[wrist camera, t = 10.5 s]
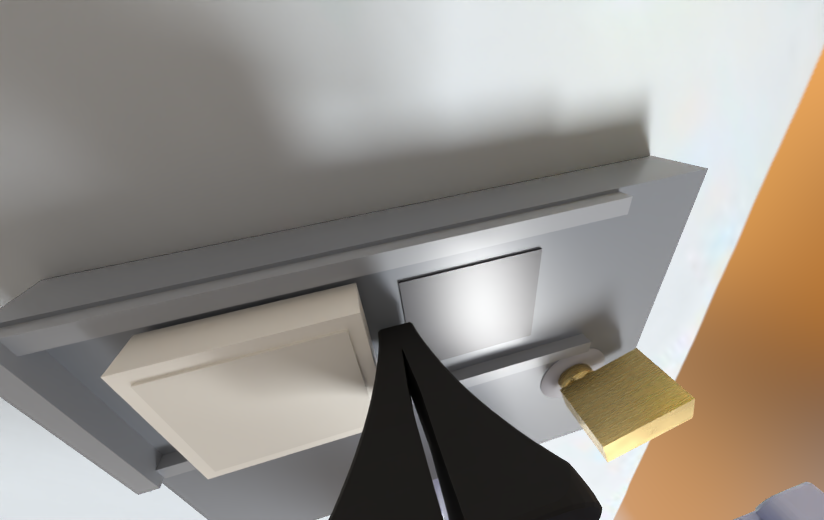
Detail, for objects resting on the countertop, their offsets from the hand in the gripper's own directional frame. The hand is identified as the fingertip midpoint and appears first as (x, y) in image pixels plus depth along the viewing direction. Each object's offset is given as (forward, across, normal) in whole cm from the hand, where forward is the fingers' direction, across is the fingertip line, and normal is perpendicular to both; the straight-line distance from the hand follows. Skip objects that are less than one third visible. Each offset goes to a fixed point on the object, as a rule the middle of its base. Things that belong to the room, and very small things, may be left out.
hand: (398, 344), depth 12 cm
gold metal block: (+1, -10, +6) cm, 12 cm away
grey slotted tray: (+3, -1, +5) cm, 6 cm away
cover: (0, +4, 0) cm, 5 cm away
